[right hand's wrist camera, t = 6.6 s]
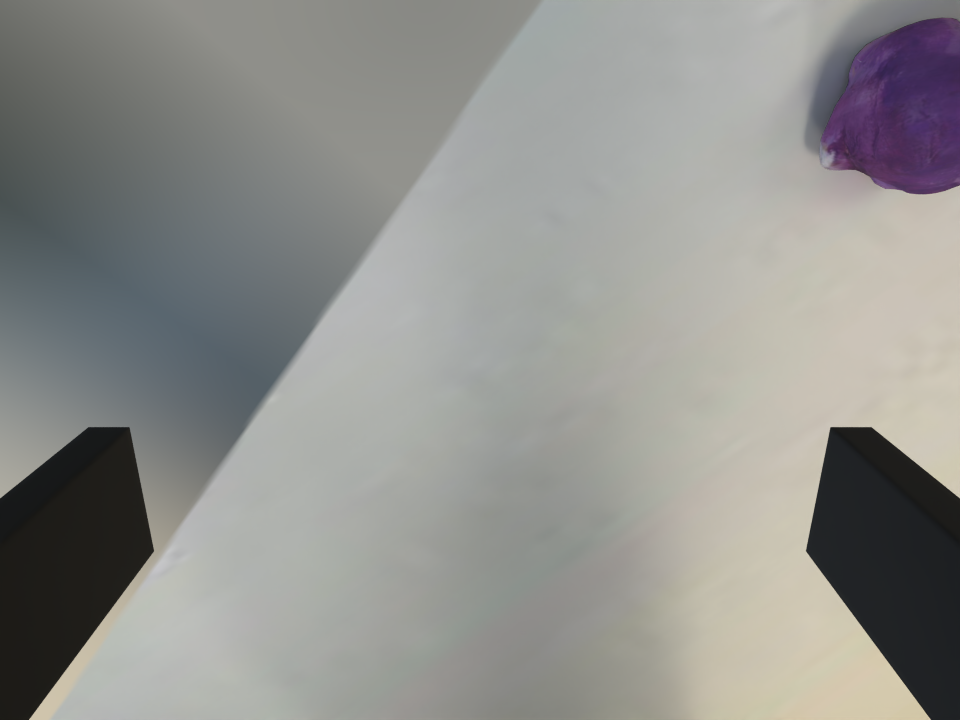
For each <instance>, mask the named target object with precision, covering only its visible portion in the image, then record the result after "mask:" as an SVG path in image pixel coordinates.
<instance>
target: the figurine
mask: <svg viewBox="0 0 960 720" xmlns="http://www.w3.org/2000/svg"><path fill="white" fill-rule="evenodd" d="M819 157H820V163H821V165H822V166H823V167H824V168H825V169H828V170H858V171H860V172H862V173H864V174H866V175H868V176H870V177H871V178H872V180H873V181H874V183H875V184H877V185H879V186H881V187H883V188H885V189H897V190H903V191H905V192H907V193H911V194H932V193H938V192H942V191H946V190H948V189H951V188H954V187H956V186H959V185H960V22H959V21H958V20H956V19H953V18H936V19H928V20H923V21H919V22H916V23H913V24H910V25H907V26H905V27H903V28H900V29H898V30H896V31H894V32H892V33H889V34H887V35H884V36H882V37H879V38H878V39H876V40H874V41H872V42H870V43H869V44H867V45H866V46H865V47H864V48H863V49H862V50H861V51H860V52H859V53H858V54H857V55H856V56H855V58H854V61H853V63H852V66H851V69H850V72H849V82H848V85H847V88H846V90H845V92H844V94H843V95H842V96H841V98H840V99H839V101H838V103H837V104H836V106H835V108H834V110H833V113H832V115H831V117H830V119H829V122H828V124H827V126H826V128H825V131H824V133H823V135H822V138H821V141H820V148H819Z"/></svg>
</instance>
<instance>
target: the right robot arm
mask: <svg viewBox="0 0 960 720" xmlns="http://www.w3.org/2000/svg"><path fill="white" fill-rule="evenodd" d="M153 552H154V549H153V544H152V539H151V534H150V528H149V523H148V518H147V513H146V508H145V503H144V498H143V493H142V488H141V483H140V478H139V473H138V468H137V463H136V458H135V453H134V448H133V443H132V438H131V433H130V428H129V427H88V428H87V429H86V430H85V431H83V432H82V433H81V434H80V435H78V436H77V437H76V438H75V439H73V440H72V441H71V442H70V443H68V444H67V445H66V446H65V447H63V448H62V449H61V450H60V451H59V452H57V453H56V454H55V455H54V456H52V457H51V458H50V459H49V460H47V461H46V462H45V463H44V464H42V465H41V466H40V467H39V468H37V469H36V470H35V471H34V472H33V473H31V474H30V475H29V476H28V477H26V478H25V479H24V480H23V481H21V482H20V483H19V484H18V485H16V486H15V487H14V488H13V489H11V490H10V491H9V492H8V493H6V494H5V495H4V496H3V497H2V498H0V720H29V719H30V718H31V716H32V715H33V714H34V712H35V711H36V710H37V708H38V707H39V705H40V704H41V703H42V701H43V700H44V699H45V697H46V696H47V695H48V693H49V692H50V691H51V689H52V688H53V687H54V685H55V684H56V683H57V681H58V680H59V679H60V677H61V676H62V674H63V673H64V672H65V670H66V669H67V668H68V666H69V665H70V664H71V662H72V661H73V660H74V658H75V657H76V656H77V654H78V653H79V652H80V650H81V649H82V647H83V646H84V645H85V643H86V642H87V641H88V639H89V638H90V637H91V635H92V634H93V633H94V631H95V630H96V629H97V627H98V626H99V625H100V623H101V622H102V621H103V619H104V618H105V616H106V615H107V614H108V612H109V611H110V610H111V608H112V607H113V606H114V604H115V603H116V602H117V600H118V599H119V598H120V596H121V595H122V594H123V592H124V591H125V590H126V588H127V587H128V586H129V584H130V583H131V581H132V580H133V579H134V577H135V576H136V575H137V573H138V572H139V571H140V569H141V568H142V567H143V565H144V564H145V563H146V561H147V560H148V559H149V557H150V556H151V554H152V553H153ZM806 552H807V553H808V554H809V556H810V557H811V559H812V560H813V561H814V563H815V564H816V565H817V567H818V568H819V569H820V571H821V572H822V573H823V575H824V576H825V577H826V579H827V580H828V581H829V583H830V584H831V586H832V587H833V588H834V590H835V591H836V592H837V594H838V595H839V596H840V598H841V599H842V600H843V602H844V603H845V604H846V606H847V607H848V608H849V610H850V611H851V612H852V614H853V615H854V617H855V618H856V619H857V621H858V622H859V623H860V625H861V626H862V627H863V629H864V630H865V631H866V633H867V634H868V635H869V637H870V638H871V639H872V641H873V642H874V643H875V645H876V646H877V648H878V649H879V650H880V652H881V653H882V654H883V656H884V657H885V658H886V660H887V661H888V662H889V664H890V665H891V666H892V668H893V669H894V670H895V672H896V673H897V674H898V676H899V677H900V679H901V680H902V681H903V683H904V684H905V685H906V687H907V688H908V689H909V691H910V692H911V693H912V695H913V696H914V697H915V699H916V700H917V701H918V703H919V704H920V705H921V707H922V708H923V710H924V711H925V712H926V714H927V715H928V716H929V718H930V719H931V720H960V498H959V497H957V496H956V495H955V494H954V493H952V492H951V491H950V490H949V489H947V488H946V487H945V486H944V485H942V484H941V483H940V482H939V481H937V480H936V479H935V478H934V477H932V476H931V475H930V474H929V473H928V472H926V471H925V470H924V469H923V468H921V467H920V466H919V465H918V464H916V463H915V462H914V461H913V460H911V459H910V458H909V457H908V456H906V455H905V454H904V453H903V452H901V451H900V450H899V449H898V448H897V447H895V446H894V445H893V444H892V443H890V442H889V441H888V440H887V439H885V438H884V437H883V436H882V435H880V434H879V433H878V432H877V431H875V430H874V429H873V428H872V427H831V428H830V433H829V438H828V443H827V448H826V453H825V458H824V463H823V468H822V473H821V478H820V483H819V488H818V493H817V498H816V503H815V508H814V513H813V518H812V523H811V528H810V533H809V539H808V544H807V549H806Z"/></svg>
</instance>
